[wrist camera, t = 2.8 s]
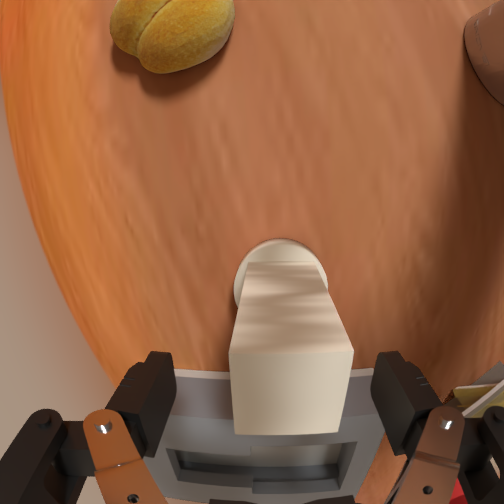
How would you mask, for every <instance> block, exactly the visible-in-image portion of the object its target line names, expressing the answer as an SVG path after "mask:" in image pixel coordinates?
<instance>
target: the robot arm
mask: <svg viewBox="0 0 504 504" xmlns="http://www.w3.org/2000/svg"><path fill="white" fill-rule="evenodd" d="M464 37H465V45H466V49H467V52H468V56H469V58H470V61H471V63H472V66H473V68H474V70H475V72H476V73H477V75H478V77H479V79H480V80H481V82H482V83H483V85H484V86H485V88H486V89H487V90H488V91H489V92H490V94H491V95H492V96H493V97H494V98H495V99H496V100H497V101H499V102H500V103H501V104H502V105H504V0H499V1H498V2H496V3H494V4H492V5H491V6H489V7H487V8H486V9H484V10H483V11H481V12H479V13H478V14H476V15H475V16H473V17H471V18H470V19H469V21H468V22H467V24H466V27H465V34H464ZM370 392H371V397H372V400H373V402H374V405H375V407H376V409H377V412H378V414H379V417H380V419H381V422H382V424H383V427H384V429H385V432H386V434H387V437H388V439H389V442H390V444H391V447H392V450H393V452H394V455H395V456H397V455H402V454H406V456H407V460H406V461H405V463H404V466H403V468H402V470H401V472H400V474H399V476H398V478H397V480H396V482H395V484H394V486H393V488H392V490H391V492H390V494H389V496H388V497H387V499H386V501H385V503H384V504H449V502H450V499H451V496H452V493H453V489H454V486H455V483H456V479H457V478H458V480H459V483H460V485H461V488H462V490H463V493H464V495H465V498H466V500H467V503H468V504H504V407H502V406H491V407H489V408H487V409H486V411H485V412H484V414H483V416H482V418H464V416H463V414H462V413H461V412H460V411H459V410H457V409H455V408H453V407H450V406H444V405H443V404H442V402H441V401H440V399H439V398H438V396H437V395H436V393H435V392H434V390H433V389H432V387H431V386H430V384H428V381H427V380H426V378H424V375H423V374H422V372H421V371H420V369H419V368H418V367H416V366H415V365H414V364H412V363H411V362H405V360H404V359H403V357H402V356H401V354H400V353H399V352H398V351H390V352H380V353H379V354H378V356H377V360H376V364H375V368H374V372H373V376H372V380H371V386H370ZM176 393H177V383H176V378H175V372H174V366H173V360H172V355H171V353H168V352H157V351H151V352H150V353H149V355H148V357H147V359H146V360H145V362H144V363H143V362H138V363H136V364H135V365H134V366H132V367H131V368H129V370H128V371H127V373H126V375H125V376H124V379H122V381H121V383H120V386H118V388H117V389H116V391H115V392H114V394H113V396H112V397H111V399H110V401H109V402H108V404H107V406H106V407H105V409H101V410H97V411H94V412H92V413H91V414H89V415H88V416H87V417H86V418H85V420H84V421H63V420H62V417H61V416H60V414H59V413H58V412H57V411H55V410H52V409H41V410H38V411H36V412H34V413H33V414H32V415H31V416H30V417H29V418H28V420H27V421H26V423H25V424H24V426H23V427H22V428H21V430H20V431H19V433H18V434H17V436H16V437H15V439H14V440H13V442H12V443H11V445H10V446H9V448H8V449H7V451H6V452H5V454H4V455H3V457H2V458H1V460H0V504H76V502H77V500H78V498H79V495H80V493H81V490H82V488H83V485H84V483H85V480H86V478H87V476H95V477H96V480H97V483H98V485H99V488H100V490H101V493H102V496H103V498H104V501H105V503H106V504H168V503H167V501H166V500H165V498H164V496H163V495H162V493H161V491H160V490H159V488H158V486H157V484H156V483H155V481H154V479H153V477H152V476H151V474H150V472H149V470H148V468H147V466H146V464H145V463H144V461H143V458H144V456H145V457H150V458H154V457H155V454H156V451H157V449H158V446H159V443H160V440H161V437H162V434H163V432H164V429H165V426H166V423H167V420H168V417H169V415H170V412H171V409H172V406H173V404H174V401H175V398H176ZM492 457H493V458H494V460H495V462H496V464H497V466H498V468H499V470H500V479H499V478H498V476H497V474H496V472H495V470H494V468H493V466H492V464H491V462H490V460H491V458H492ZM209 504H256V503H252V502H247V501H233V500H219V499H210V500H209ZM304 504H360V503H355V501H354V496H353V495H348V496H341V497H333V498H324V499H318V500H314V501H311V502H307V503H304Z"/></svg>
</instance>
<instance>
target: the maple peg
mask: <svg viewBox="0 0 504 504" xmlns="http://www.w3.org/2000/svg"><path fill="white" fill-rule="evenodd" d="M234 298H235V301H236V304H237V307H238V312H237V317H236V321H235V326H234V330H233V335H232V340H231V344H230V349H229V367H230V380H231V393H232V405H233V417H234V428H235V434H240V435H301V434H320V433H333V432H338V429H339V425H340V420H341V416H342V411H343V407H344V402H345V398H346V393H347V388H348V383H349V377H350V372H351V366H352V361H353V355H354V349H353V347H352V345H351V342H350V340H349V338H348V335H347V333H346V331H345V329H344V326H343V324H342V322H341V319H340V317H339V315H338V313H337V310H336V308H335V306H334V304H333V301H332V299H331V297H330V295H329V293H328V282H327V278H326V274H325V272H324V270H323V268H322V266H321V264H320V262H319V260H318V258H317V257H316V255H315V254H314V253H313V252H312V251H311V250H310V249H309V248H308V247H307V246H305V245H304V244H302V243H300V242H298V241H295V240H292V239H287V238H274V239H269V240H266V241H263V242H261V243H259V244H257V245H256V246H254V247H253V248H252V249H250V250H249V251H248V252H247V254H246V255H245V256H244V258H243V259H242V261H241V263H240V265H239V268H238V271H237V275H236V278H235V282H234Z"/></svg>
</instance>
